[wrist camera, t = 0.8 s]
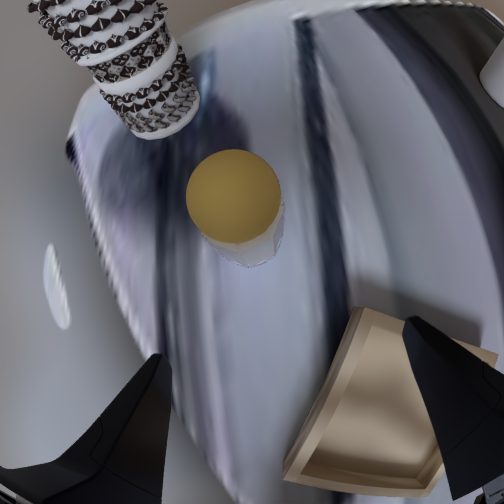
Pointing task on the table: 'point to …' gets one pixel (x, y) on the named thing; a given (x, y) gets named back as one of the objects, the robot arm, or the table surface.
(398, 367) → the tray
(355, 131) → the table surface
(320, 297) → the table surface
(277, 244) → the cup
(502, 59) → the milk bottle
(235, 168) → the ball
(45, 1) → the decorative candle
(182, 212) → the table surface
